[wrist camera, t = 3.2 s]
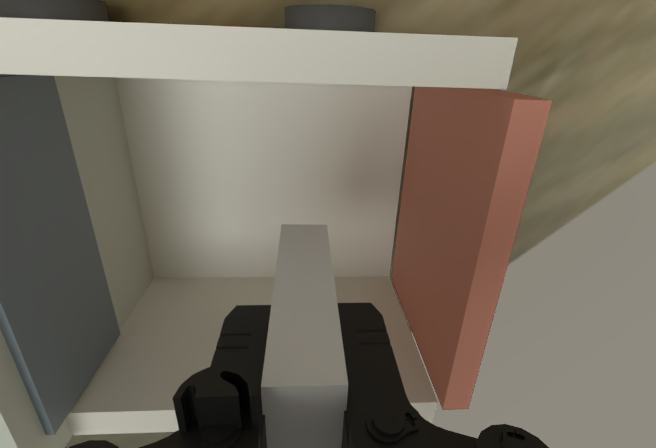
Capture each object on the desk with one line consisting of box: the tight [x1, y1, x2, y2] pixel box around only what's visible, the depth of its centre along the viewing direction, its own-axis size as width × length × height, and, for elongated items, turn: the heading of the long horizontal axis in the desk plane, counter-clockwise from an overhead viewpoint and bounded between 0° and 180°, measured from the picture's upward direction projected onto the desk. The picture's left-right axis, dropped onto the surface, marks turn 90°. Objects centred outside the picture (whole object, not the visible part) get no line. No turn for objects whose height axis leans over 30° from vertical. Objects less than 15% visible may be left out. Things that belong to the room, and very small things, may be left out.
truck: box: [0, 0, 518, 448], centre depth 16 cm, size 17×21×15 cm
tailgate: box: [392, 86, 553, 410], centre depth 16 cm, size 11×1×9 cm, turn 178°
